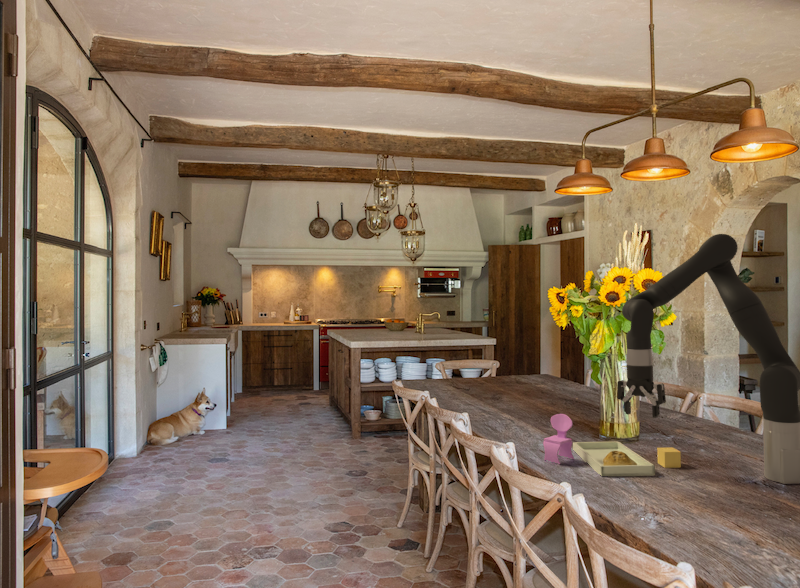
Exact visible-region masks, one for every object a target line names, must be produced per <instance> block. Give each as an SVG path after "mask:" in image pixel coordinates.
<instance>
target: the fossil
mask: <svg viewBox="0 0 800 588" xmlns="http://www.w3.org/2000/svg"><path fill="white" fill-rule="evenodd" d="M603 463H604V464H603V465H604V466H617V465H637V463H636V462H634V461H633V460H631V459H630V458H629V457H628V456H627V455H626V454H625V453H623V452H620V451H612V452H610V453H608V454H607V456H606V457H605V458H604V459H603Z"/></svg>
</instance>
